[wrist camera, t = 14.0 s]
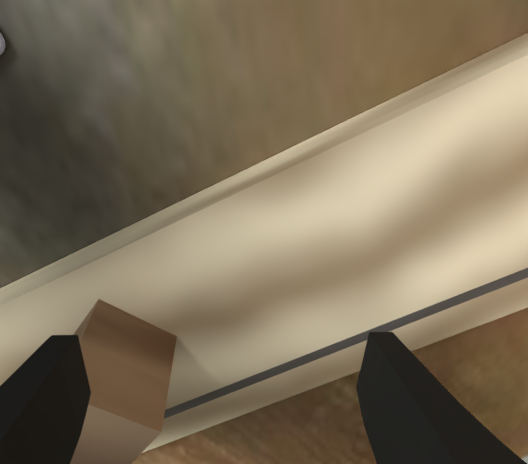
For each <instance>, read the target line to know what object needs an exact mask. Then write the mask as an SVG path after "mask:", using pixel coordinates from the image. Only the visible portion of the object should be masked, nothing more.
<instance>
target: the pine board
mask: <svg viewBox="0 0 528 464" xmlns="http://www.w3.org/2000/svg"><path fill="white" fill-rule="evenodd" d="M98 299H100V300H102V301H104V302H106V303H108V304H111V305H113V306H115V307H117V308H119V309H121V310H123V311H125V312H127V313H129V314H131V315H133V316H136V317H138V318H140V319H142V320H144V321H146V322H148V323H150V324H152V325H154V326H156V327H158V328H161V329H163V330H165V331H167V332H169V333H171V334H173V335H175V336H177V339H176V345H175V351H174V358H173V364H172V370H171V376H170V383H169V389H168V395H167V401H166V408H165V414H164V420H163V427H162V432H161V433H160V434H159V435H158V436H157V437H156V438H155V440H154V441H153V442H152V443H151V444H150V445H149V446H148V447H147V448H146V449H145V450H144V451H143V452H145V451H148V450H151V449H153V448H156V447H159V446H161V445H164V444H167V443H169V442H172V441H175V440H177V439H180V438H183V437H185V436H188V435H190V434H193V433H196V432H198V431H201V430H204V429H206V428H209V427H212V426H214V425H217V424H220V423H222V422H225V421H228V420H230V419H233V418H236V417H238V416H241V415H244V414H246V413H249V412H251V411H254V410H257V409H259V408H262V407H265V406H267V405H270V404H273V403H275V402H278V401H281V400H283V399H286V398H289V397H291V396H294V395H297V394H299V393H302V392H305V391H307V390H310V389H313V388H315V387H318V386H320V385H323V384H326V383H328V382H331V381H334V380H336V379H339V378H342V377H344V376H347V375H350V374H352V373H355V372H358V371H360V369H361V365H362V361H363V356H364V352H365V348H366V344H367V339H368V335H369V332H393V333H394V334H395V335H396V336H397V337H398V338H399V339H400V341H401V342H402V343H403V344H404V345H405V346H406V347H407V348H408V349H409V350H410V351H413V350H416V349H419V348H421V347H424V346H427V345H429V344H432V343H435V342H437V341H440V340H443V339H445V338H448V337H450V336H453V335H456V334H458V333H461V332H464V331H466V330H469V329H472V328H474V327H477V326H480V325H482V324H485V323H488V322H490V321H493V320H496V319H498V318H501V317H504V316H506V315H509V314H512V313H514V312H517V311H519V310H522V309H525V308H527V307H528V33H526V34H524V35H522V36H520V37H518V38H516V39H514V40H512V41H510V42H508V43H506V44H504V45H501V46H499V47H497V48H495V49H493V50H491V51H489V52H487V53H485V54H483V55H481V56H479V57H477V58H475V59H473V60H471V61H468V62H466V63H464V64H462V65H460V66H458V67H456V68H454V69H452V70H450V71H448V72H446V73H444V74H442V75H440V76H437V77H435V78H433V79H431V80H429V81H427V82H425V83H423V84H421V85H419V86H417V87H415V88H413V89H411V90H409V91H407V92H404V93H402V94H400V95H398V96H396V97H394V98H392V99H390V100H388V101H386V102H384V103H382V104H380V105H378V106H376V107H374V108H371V109H369V110H367V111H365V112H363V113H361V114H359V115H357V116H355V117H353V118H351V119H349V120H347V121H345V122H343V123H340V124H338V125H336V126H334V127H332V128H330V129H328V130H326V131H324V132H322V133H320V134H318V135H316V136H314V137H312V138H310V139H307V140H305V141H303V142H301V143H299V144H297V145H295V146H293V147H291V148H289V149H287V150H285V151H283V152H281V153H279V154H277V155H274V156H272V157H270V158H268V159H266V160H264V161H262V162H260V163H258V164H256V165H254V166H252V167H250V168H248V169H246V170H243V171H241V172H239V173H237V174H235V175H233V176H231V177H229V178H227V179H225V180H223V181H221V182H219V183H217V184H215V185H213V186H210V187H208V188H206V189H204V190H202V191H200V192H198V193H196V194H194V195H192V196H190V197H188V198H186V199H184V200H182V201H180V202H177V203H175V204H173V205H171V206H169V207H167V208H165V209H163V210H161V211H159V212H157V213H155V214H153V215H151V216H149V217H147V218H144V219H142V220H140V221H138V222H136V223H134V224H132V225H130V226H128V227H126V228H124V229H122V230H120V231H118V232H116V233H113V234H111V235H109V236H107V237H105V238H103V239H101V240H99V241H97V242H95V243H93V244H91V245H89V246H87V247H85V248H83V249H80V250H78V251H76V252H74V253H72V254H70V255H68V256H66V257H64V258H62V259H60V260H58V261H56V262H54V263H52V264H50V265H47V266H45V267H43V268H41V269H39V270H37V271H35V272H33V273H31V274H29V275H27V276H25V277H23V278H21V279H19V280H16V281H14V282H12V283H10V284H8V285H6V286H4V287H2V288H0V386H1V385H2V384H3V383H4V382H5V381H6V380H7V379H8V378H9V377H10V376H11V375H12V374H13V373H14V372H15V371H16V370H17V369H18V368H19V367H20V366H21V365H22V364H23V363H24V362H25V361H26V360H27V359H28V358H29V357H30V356H31V355H32V354H33V353H34V352H35V351H36V350H37V349H38V348H39V347H40V346H41V345H42V344H43V343H44V342H45V341H46V340H47V339H48V338H49V337H50V336H51V335H73V334H74V333H75V331H76V330H77V329H78V327H79V326H80V324H81V323H82V322H83V320H84V319H85V317H86V316H87V315H88V313H89V312H90V310H91V309H92V308H93V306H94V305H95V303H96V302H97V301H98ZM143 452H142V453H143Z"/></svg>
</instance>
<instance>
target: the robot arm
mask: <svg viewBox="0 0 528 464" xmlns="http://www.w3.org/2000/svg"><path fill="white" fill-rule="evenodd" d="M4 50H5V40H4V38H3V36H2V34H1V33H0V55H1V54H2V53H3V52H4ZM356 388H357V393H358V398H359V403H360V408H361V412H362V417H363V421H364V425H365V429H366V432H367V435H368V438H369V441H370V444H371V447H372V450H373V453H374V456H375V459H376V462H377V464H527V463H525V462H524V461H523V460H522V459H521V458H519V457H518V456H517V455H516V454H515V453H513V452H512V451H511V450H510V449H509V448H508V447H507V446H505V445H504V444H503V443H502V442H501V441H500V440H499V439H497V438H496V437H495V436H494V435H493V434H492V433H491V432H490V431H489V430H488V429H487V428H486V427H484V426H483V425H482V424H481V423H480V422H479V421H478V420H477V419H476V418H475V417H474V416H473V415H472V414H471V413H470V412H469V411H468V410H466V409H465V408H464V407H463V406H462V405H461V404H460V403H459V402H458V401H457V400H456V399H455V398H454V397H453V396H452V395H451V394H450V393H449V392H448V390H447V389H446V388H445V387H444V386H443V385H442V384H441V383H440V382H439V381H438V380H437V379H436V378H435V377H434V376H433V375H432V374H431V373H430V372H429V371H428V370H427V369H426V367H425V366H424V365H423V364H422V363H421V362H420V361H419V360H418V359H417V358H416V357H415V356H414V355H413V353H412V352H411V351H410V350H409V349H408V348H407V347H406V346H405V345H404V344H403V343H402V342H401V341H400V339H399V338H398V337H397V336H396V335H395V334H394V333H393V332H369V335H368V339H367V344H366V348H365V352H364V356H363V361H362V365H361V369H360V374H359V378H358V382H357V386H356ZM90 395H91V390H90V386H89V381H88V377H87V373H86V368H85V364H84V359H83V355H82V351H81V346H80V342H79V338H78V335H51V336H50V337H49V338H48V339H47V340H46V341H45V342H44V343H43V344H42V345H41V346H40V347H39V348H38V349H37V350H36V351H35V352H34V353H33V354H32V355H31V356H30V357H29V358H28V359H27V360H26V361H25V362H24V363H23V364H22V365H21V366H20V367H19V368H18V369H17V370H16V371H15V372H14V373H13V374H12V375H11V376H10V377H9V378H8V379H7V380H6V381H5V382H4V383H3V384H2V385H1V386H0V464H70V462H71V460H72V457H73V454H74V452H75V449H76V446H77V444H78V441H79V438H80V435H81V431H82V428H83V424H84V420H85V416H86V412H87V408H88V404H89V399H90Z"/></svg>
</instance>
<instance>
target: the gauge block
mask: <svg viewBox="0 0 528 464" xmlns="http://www.w3.org/2000/svg"><path fill="white" fill-rule="evenodd" d="M73 335H78V338H79V342H80V346H81V351H82V355H83V359H84V364H85V368H86V373H87V377H88V381H89V386H90V390H91V395H90V399H89V404H88V408H87V412H86V416H85V420H84V424H83V428H82V431H81V435H80V438H79V441H78V444H77V446H76V449H75V452H74V454H73V457H72V460H71V462H70V464H131V463H132V462H133V461H134V460H135V459H136V458H137V457H138V456H139V455H140V454H141V453H142V452H143V451H144V450H145V449H146V448H147V447H148V446H149V445H150V444H151V443H152V442H153V441H154V440H155V438H156V437H157V436H158V435H159V434H160V433H161V432H162V427H163V420H164V414H165V408H166V401H167V395H168V389H169V383H170V376H171V370H172V364H173V358H174V351H175V345H176V339H177V336H175V335H173V334H171V333H169V332H167V331H165V330H163V329H161V328H158V327H156V326H154V325H152V324H150V323H148V322H146V321H144V320H142V319H140V318H138V317H136V316H133V315H131V314H129V313H127V312H125V311H123V310H121V309H119V308H117V307H115V306H113V305H111V304H108V303H106V302H104V301H102V300H100V299H98V301H97V302H96V303H95V305H94V306H93V308H92V309H91V310H90V312H89V313H88V315H87V316H86V317H85V319H84V320H83V322H82V323H81V324H80V326H79V327H78V329H77V330H76V331H75V333H74V334H73Z"/></svg>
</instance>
